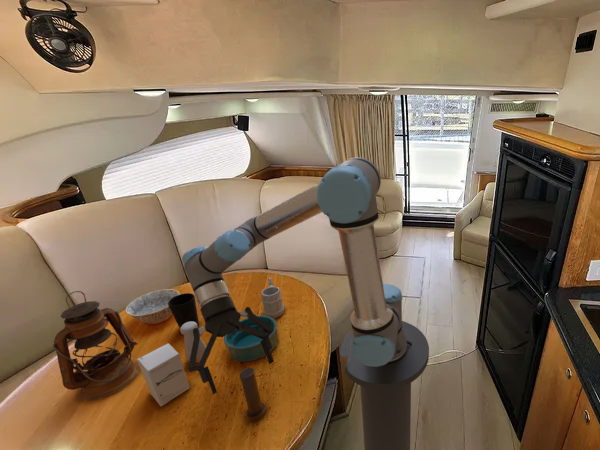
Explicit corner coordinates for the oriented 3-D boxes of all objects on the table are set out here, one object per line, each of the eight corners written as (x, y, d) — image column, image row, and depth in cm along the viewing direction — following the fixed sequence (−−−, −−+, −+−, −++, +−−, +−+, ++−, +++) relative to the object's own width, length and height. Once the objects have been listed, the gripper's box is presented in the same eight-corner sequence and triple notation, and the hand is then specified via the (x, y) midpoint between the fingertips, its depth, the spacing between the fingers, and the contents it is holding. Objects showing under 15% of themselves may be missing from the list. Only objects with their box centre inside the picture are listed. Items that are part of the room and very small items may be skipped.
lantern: (126, 354, 99) (92, 272, 88) (156, 364, 96) (124, 279, 85) (59, 399, 84) (7, 306, 73) (90, 412, 81) (41, 317, 70)
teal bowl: (286, 329, 110) (283, 315, 108) (267, 364, 95) (264, 348, 93) (242, 329, 110) (239, 315, 108) (217, 363, 96) (213, 347, 94)
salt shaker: (196, 367, 94) (185, 333, 90) (182, 362, 96) (171, 328, 91) (213, 353, 99) (203, 320, 95) (199, 349, 101) (189, 316, 96)
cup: (206, 325, 112) (198, 297, 108) (184, 338, 106) (175, 308, 102) (195, 318, 116) (187, 290, 112) (172, 330, 110) (163, 301, 105)
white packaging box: (160, 408, 82) (146, 371, 77) (150, 394, 86) (135, 358, 81) (191, 388, 87) (179, 353, 83) (179, 376, 91) (167, 341, 87)
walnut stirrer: (268, 406, 82) (259, 365, 77) (261, 422, 78) (251, 380, 73) (252, 405, 82) (242, 365, 77) (244, 421, 78) (232, 379, 73)
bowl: (159, 334, 108) (153, 317, 105) (120, 330, 110) (113, 312, 107) (194, 307, 122) (190, 290, 120) (159, 303, 125) (154, 287, 122)
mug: (263, 321, 114) (257, 293, 110) (264, 303, 124) (259, 277, 120) (285, 316, 117) (280, 289, 112) (284, 299, 127) (280, 273, 123)
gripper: (260, 288, 94) (289, 354, 89) (159, 326, 78) (188, 408, 73) (264, 280, 88) (295, 349, 84) (156, 318, 73) (187, 407, 68)
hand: (245, 377), depth 79 cm, fingers open, 13 cm apart
